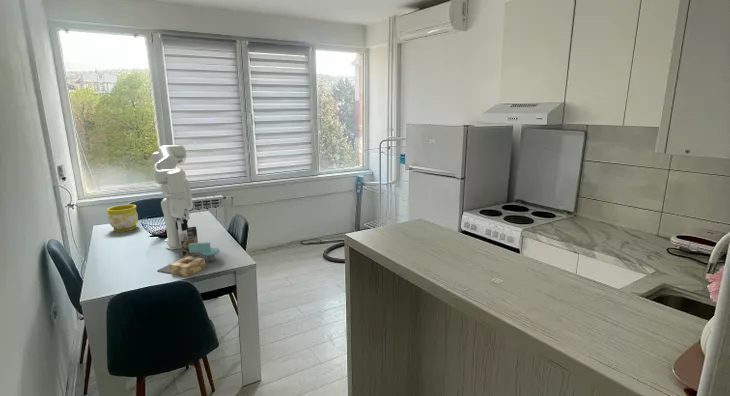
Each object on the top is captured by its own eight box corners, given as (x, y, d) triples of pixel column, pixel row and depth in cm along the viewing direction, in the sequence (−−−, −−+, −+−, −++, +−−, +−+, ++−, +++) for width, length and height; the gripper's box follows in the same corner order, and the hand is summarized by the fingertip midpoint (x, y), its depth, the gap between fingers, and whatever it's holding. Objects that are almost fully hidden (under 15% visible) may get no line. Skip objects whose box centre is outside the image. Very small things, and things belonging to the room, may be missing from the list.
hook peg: (178, 240, 194) (175, 220, 192) (183, 238, 198) (181, 218, 195) (183, 241, 193) (181, 221, 190) (189, 238, 196) (186, 219, 194)
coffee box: (182, 257, 216) (179, 231, 212) (182, 254, 222) (178, 228, 218) (199, 254, 220) (196, 228, 216) (199, 251, 226) (195, 225, 222)
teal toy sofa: (221, 257, 216) (219, 239, 213) (218, 263, 207) (216, 244, 205) (193, 259, 214) (191, 241, 211) (189, 265, 205) (186, 247, 202)
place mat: (157, 271, 198) (157, 270, 198) (171, 264, 207) (170, 263, 206) (170, 273, 195) (169, 272, 195) (183, 266, 204) (183, 265, 203)
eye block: (170, 273, 196) (169, 264, 195) (188, 264, 207) (187, 256, 206) (188, 276, 192) (187, 267, 191) (205, 267, 203) (204, 258, 201)
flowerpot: (136, 223, 283) (133, 203, 279) (142, 229, 270) (138, 207, 266) (108, 229, 271) (104, 207, 267) (113, 235, 258) (109, 212, 254)
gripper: (161, 195, 191) (166, 229, 195) (180, 198, 182) (185, 234, 187) (175, 192, 197) (179, 225, 201) (194, 195, 188) (198, 230, 193)
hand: (182, 229), depth 194 cm, fingers closed on hook peg, 3 cm apart
